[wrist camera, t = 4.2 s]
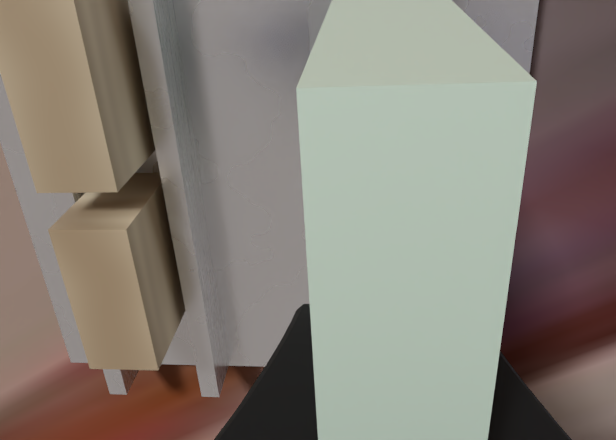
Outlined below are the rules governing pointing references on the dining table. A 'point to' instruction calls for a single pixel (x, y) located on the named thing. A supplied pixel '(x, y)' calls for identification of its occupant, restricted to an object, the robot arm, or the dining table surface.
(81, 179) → the oak offcut
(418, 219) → the sage panel
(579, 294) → the dining table surface
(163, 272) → the oak offcut
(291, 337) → the robot arm
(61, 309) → the slot rack
